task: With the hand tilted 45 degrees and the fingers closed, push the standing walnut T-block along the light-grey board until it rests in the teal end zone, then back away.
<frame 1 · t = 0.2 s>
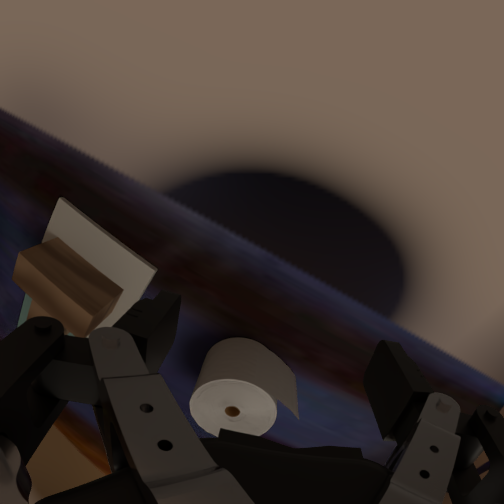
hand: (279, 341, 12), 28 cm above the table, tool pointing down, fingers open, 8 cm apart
t block: (83, 274, 42), point 1 cm above the table, touching board
board: (71, 308, 45), on the table
toilet tissue: (244, 365, 45), on the table
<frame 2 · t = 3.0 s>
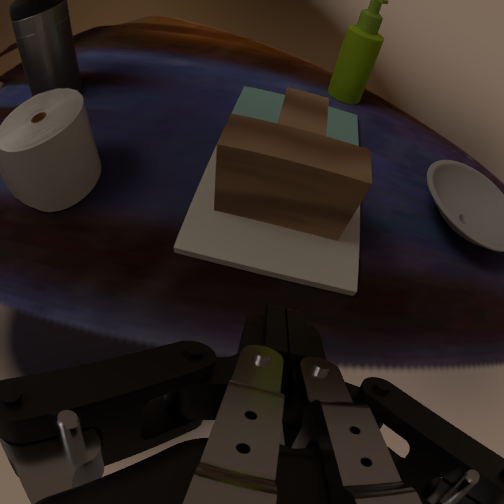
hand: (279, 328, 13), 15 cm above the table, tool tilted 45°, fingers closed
soap dispenser: (341, 94, 50), on the table
t block: (279, 208, 34), point 1 cm above the table, touching board
board: (287, 166, 38), on the table
toilet tissue: (59, 182, 34), on the table
dish: (459, 224, 38), on the table
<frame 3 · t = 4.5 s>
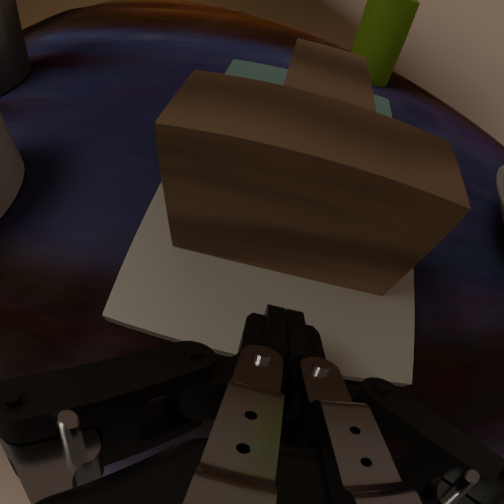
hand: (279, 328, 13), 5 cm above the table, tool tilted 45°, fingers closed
soap dispenser: (362, 74, 36), on the table
t block: (286, 240, 20), point 1 cm above the table, touching board
board: (297, 168, 25), on the table
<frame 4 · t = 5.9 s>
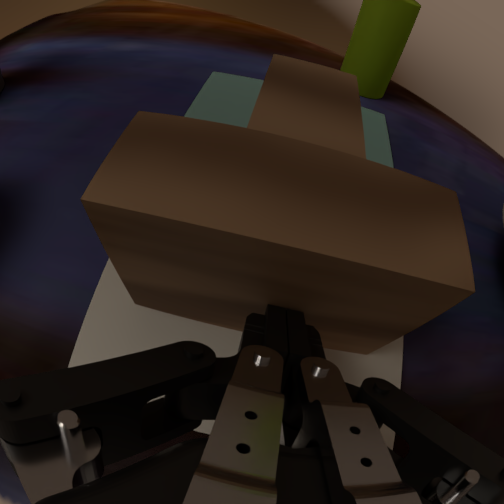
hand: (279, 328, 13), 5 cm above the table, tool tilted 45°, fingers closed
soap dispenser: (357, 84, 34), on the table
t block: (260, 295, 18), point 1 cm above the table, touching board
board: (277, 206, 22), on the table
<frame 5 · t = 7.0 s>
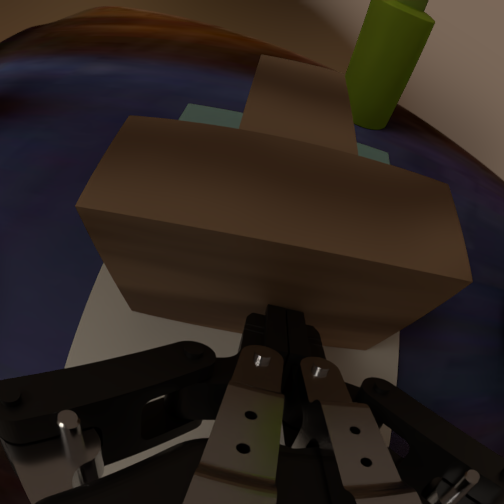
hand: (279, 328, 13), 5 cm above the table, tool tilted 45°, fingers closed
soap dispenser: (357, 110, 30), on the table
t block: (257, 296, 18), point 1 cm above the table, touching gripper
board: (255, 290, 19), on the table
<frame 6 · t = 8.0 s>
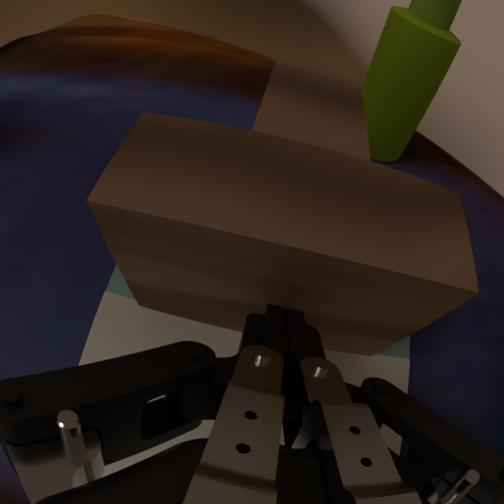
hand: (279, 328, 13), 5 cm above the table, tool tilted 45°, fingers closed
soap dispenser: (368, 138, 28), on the table
t block: (264, 297, 18), point 1 cm above the table, touching board, gripper
board: (252, 371, 17), on the table
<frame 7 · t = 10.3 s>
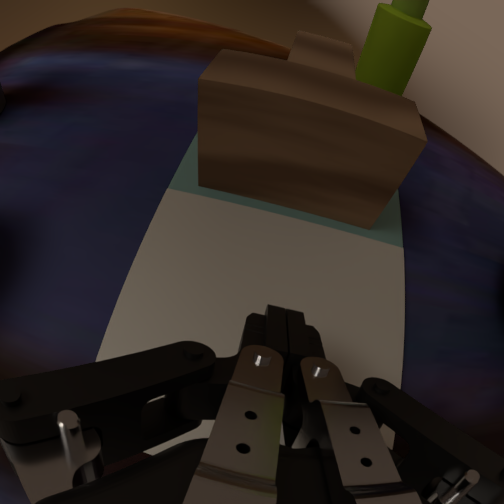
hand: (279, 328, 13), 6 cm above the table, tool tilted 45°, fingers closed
soap dispenser: (364, 107, 34), on the table
t block: (290, 184, 24), point 1 cm above the table, touching board
board: (282, 247, 22), on the table
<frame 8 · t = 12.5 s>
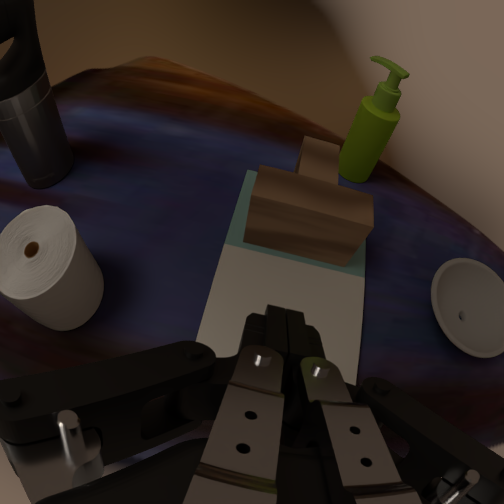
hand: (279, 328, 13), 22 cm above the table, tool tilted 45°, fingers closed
soap dispenser: (349, 168, 50), on the table
t block: (297, 239, 41), point 1 cm above the table, touching board
board: (292, 279, 39), on the table
toilet tissue: (62, 294, 34), on the table
dish: (457, 319, 39), on the table
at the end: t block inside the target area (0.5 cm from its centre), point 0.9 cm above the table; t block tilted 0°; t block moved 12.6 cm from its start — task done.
